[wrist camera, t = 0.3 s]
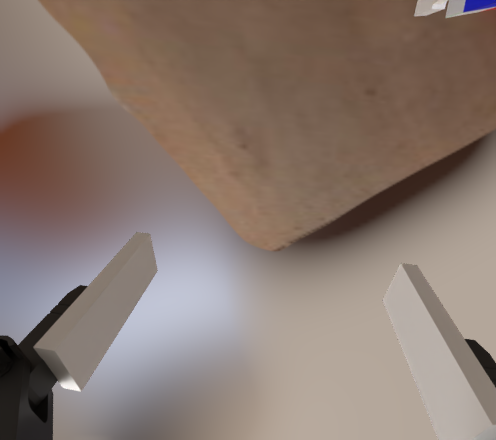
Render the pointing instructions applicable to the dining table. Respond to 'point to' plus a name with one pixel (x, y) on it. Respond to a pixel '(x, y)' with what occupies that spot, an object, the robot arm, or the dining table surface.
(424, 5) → the white hinged box
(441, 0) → the cover
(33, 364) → the robot arm
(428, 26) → the dining table surface
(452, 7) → the puzzle toy
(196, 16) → the dining table surface
